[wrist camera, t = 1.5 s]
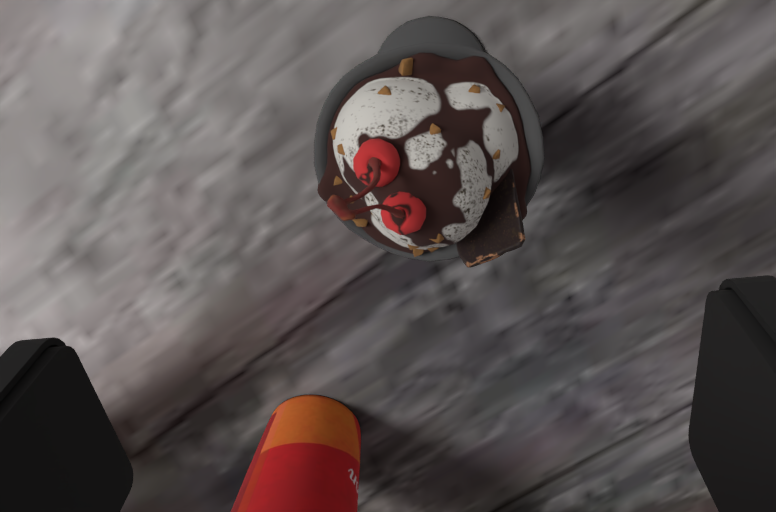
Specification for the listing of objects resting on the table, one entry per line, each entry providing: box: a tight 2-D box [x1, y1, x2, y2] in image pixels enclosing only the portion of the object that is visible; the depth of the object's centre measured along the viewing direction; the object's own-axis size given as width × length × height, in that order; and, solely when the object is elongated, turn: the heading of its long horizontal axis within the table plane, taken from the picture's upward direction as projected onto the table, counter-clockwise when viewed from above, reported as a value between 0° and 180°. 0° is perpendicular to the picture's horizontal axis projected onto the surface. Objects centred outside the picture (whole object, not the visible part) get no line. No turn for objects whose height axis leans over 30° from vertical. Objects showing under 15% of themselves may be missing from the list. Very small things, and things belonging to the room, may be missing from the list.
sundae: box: [314, 16, 544, 267], centre depth 20 cm, size 7×7×15 cm
